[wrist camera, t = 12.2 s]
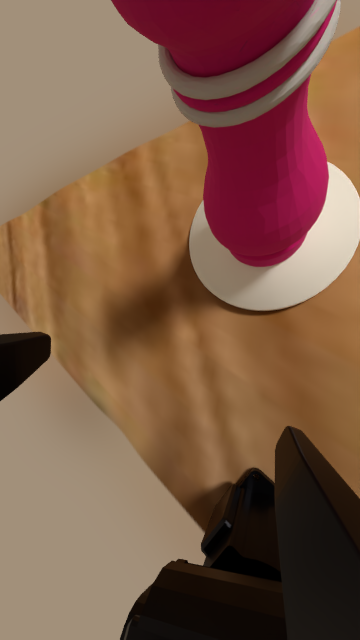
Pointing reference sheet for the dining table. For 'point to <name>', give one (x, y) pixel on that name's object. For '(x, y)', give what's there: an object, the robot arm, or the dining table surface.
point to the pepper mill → (248, 110)
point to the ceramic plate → (291, 274)
